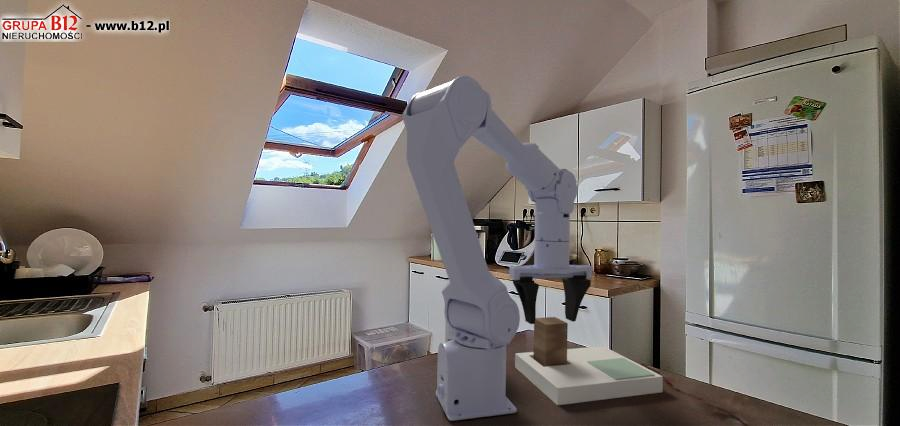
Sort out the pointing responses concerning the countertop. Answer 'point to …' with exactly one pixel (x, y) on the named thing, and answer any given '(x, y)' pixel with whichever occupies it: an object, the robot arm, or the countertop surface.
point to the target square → (620, 368)
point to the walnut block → (550, 341)
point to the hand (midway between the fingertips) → (550, 321)
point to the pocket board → (584, 377)
